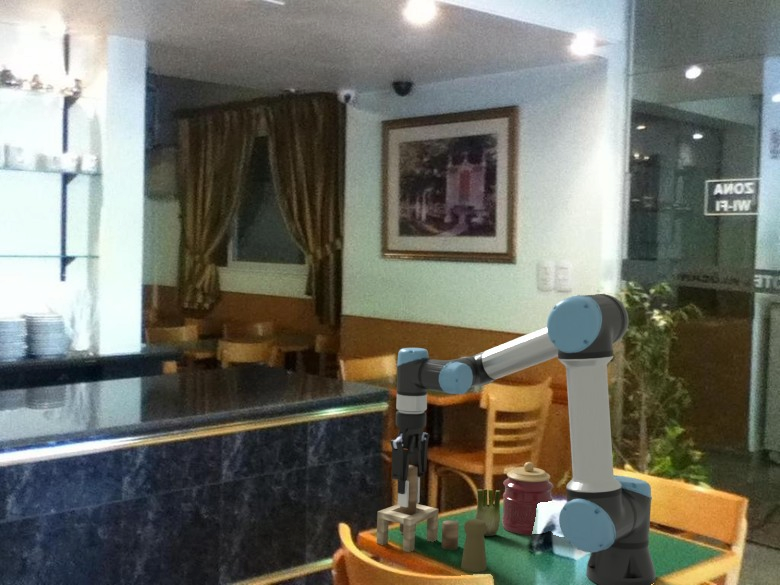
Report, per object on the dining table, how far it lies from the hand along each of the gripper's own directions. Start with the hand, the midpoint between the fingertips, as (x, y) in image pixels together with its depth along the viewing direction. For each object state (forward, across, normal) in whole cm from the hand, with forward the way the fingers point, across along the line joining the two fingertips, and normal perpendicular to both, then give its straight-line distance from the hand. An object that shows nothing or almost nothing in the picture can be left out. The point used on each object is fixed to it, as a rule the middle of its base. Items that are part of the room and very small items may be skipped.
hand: (408, 503), depth 236 cm
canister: (+10, -30, +17) cm, 36 cm away
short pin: (+10, -4, +10) cm, 14 cm away
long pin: (+7, 0, 0) cm, 7 cm away
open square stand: (+10, 0, 0) cm, 10 cm away
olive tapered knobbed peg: (+10, +4, +22) cm, 24 cm away
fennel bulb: (+10, -18, +12) cm, 24 cm away
